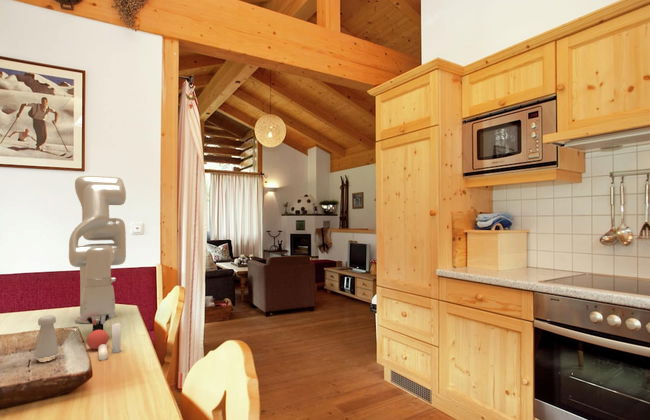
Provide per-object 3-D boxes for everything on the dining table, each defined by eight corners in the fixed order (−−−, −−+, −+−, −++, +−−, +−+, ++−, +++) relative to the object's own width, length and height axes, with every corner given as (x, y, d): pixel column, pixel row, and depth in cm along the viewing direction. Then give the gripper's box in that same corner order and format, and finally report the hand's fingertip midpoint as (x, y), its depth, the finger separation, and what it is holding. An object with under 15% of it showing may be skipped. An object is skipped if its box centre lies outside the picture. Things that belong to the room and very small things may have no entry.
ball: (88, 351, 117) (91, 353, 122) (109, 342, 120) (111, 345, 125) (83, 332, 119) (86, 336, 124) (104, 324, 122) (106, 328, 127)
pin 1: (96, 349, 118) (96, 357, 111) (102, 342, 119) (103, 350, 112) (102, 353, 119) (103, 362, 112) (108, 347, 120) (109, 355, 113)
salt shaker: (45, 364, 109) (45, 319, 109) (29, 363, 110) (29, 318, 110) (63, 357, 114) (63, 314, 115) (47, 355, 116) (48, 313, 116)
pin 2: (111, 351, 119) (111, 323, 119) (119, 349, 121) (119, 322, 121) (112, 353, 117) (112, 325, 118) (121, 351, 119) (121, 324, 119)
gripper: (120, 279, 139) (119, 329, 139) (71, 283, 129) (70, 337, 129) (124, 281, 133) (124, 333, 133) (74, 286, 124) (73, 342, 123)
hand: (97, 335), depth 131 cm, fingers closed
